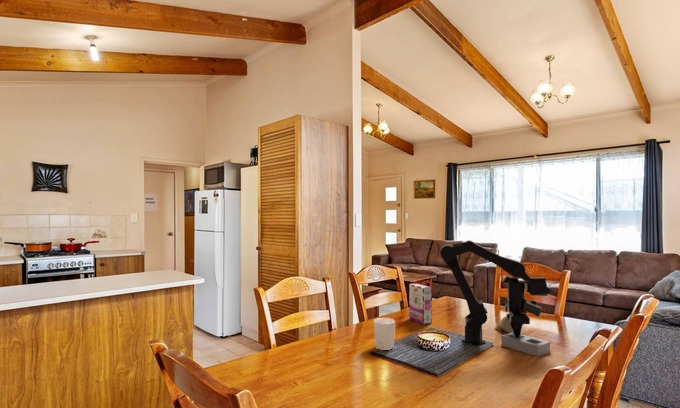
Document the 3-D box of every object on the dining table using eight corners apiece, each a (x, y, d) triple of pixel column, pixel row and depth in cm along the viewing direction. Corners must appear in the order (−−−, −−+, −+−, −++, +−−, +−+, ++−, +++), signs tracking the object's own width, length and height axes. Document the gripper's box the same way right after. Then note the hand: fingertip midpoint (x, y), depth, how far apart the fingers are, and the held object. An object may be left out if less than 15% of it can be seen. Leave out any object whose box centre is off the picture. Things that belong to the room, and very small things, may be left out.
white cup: (394, 352, 139) (394, 324, 139) (372, 350, 140) (372, 323, 141) (395, 344, 147) (395, 318, 147) (375, 343, 148) (375, 317, 148)
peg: (518, 347, 143) (517, 320, 143) (510, 345, 145) (510, 318, 145) (522, 346, 144) (522, 319, 144) (515, 343, 147) (515, 317, 147)
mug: (508, 327, 169) (517, 310, 164) (514, 343, 160) (524, 326, 156) (491, 322, 169) (500, 305, 165) (496, 339, 160) (505, 321, 156)
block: (537, 356, 134) (537, 346, 134) (501, 345, 146) (501, 335, 146) (550, 351, 138) (550, 342, 138) (513, 340, 150) (513, 331, 150)
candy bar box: (432, 323, 174) (432, 287, 174) (423, 325, 172) (423, 288, 172) (417, 317, 184) (417, 282, 184) (408, 318, 182) (408, 283, 182)
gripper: (545, 301, 134) (546, 346, 133) (534, 290, 152) (535, 330, 151) (510, 299, 137) (511, 343, 137) (504, 289, 155) (504, 328, 155)
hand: (516, 336), depth 145 cm, fingers closed on peg, 3 cm apart
